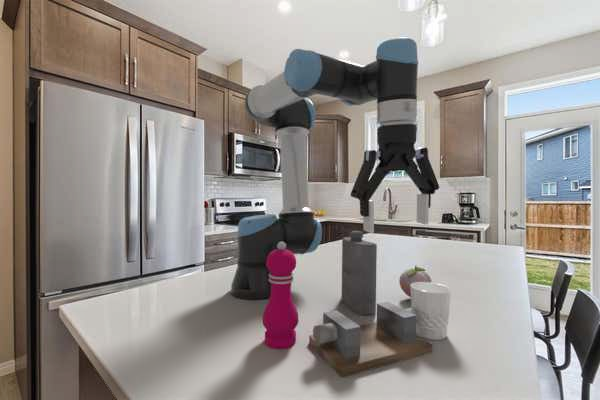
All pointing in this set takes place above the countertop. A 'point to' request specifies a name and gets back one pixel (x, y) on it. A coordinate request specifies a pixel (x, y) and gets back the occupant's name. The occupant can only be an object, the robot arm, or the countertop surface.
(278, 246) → the pepper mill
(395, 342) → the block
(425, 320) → the white cup
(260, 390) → the countertop surface
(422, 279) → the decorative fruit
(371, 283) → the flask
